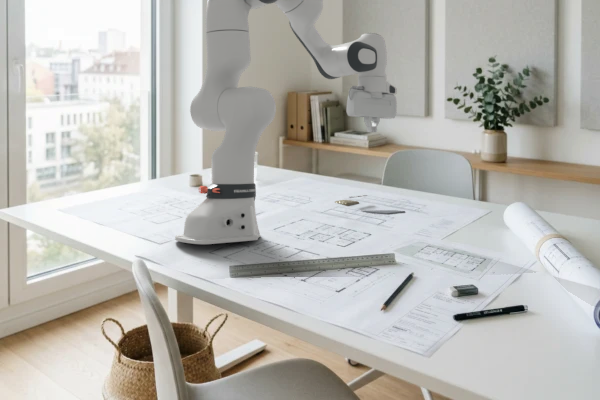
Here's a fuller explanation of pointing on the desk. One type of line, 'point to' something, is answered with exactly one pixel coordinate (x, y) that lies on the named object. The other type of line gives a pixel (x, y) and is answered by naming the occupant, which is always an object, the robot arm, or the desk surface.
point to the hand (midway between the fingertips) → (371, 132)
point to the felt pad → (384, 211)
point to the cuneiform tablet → (348, 201)
